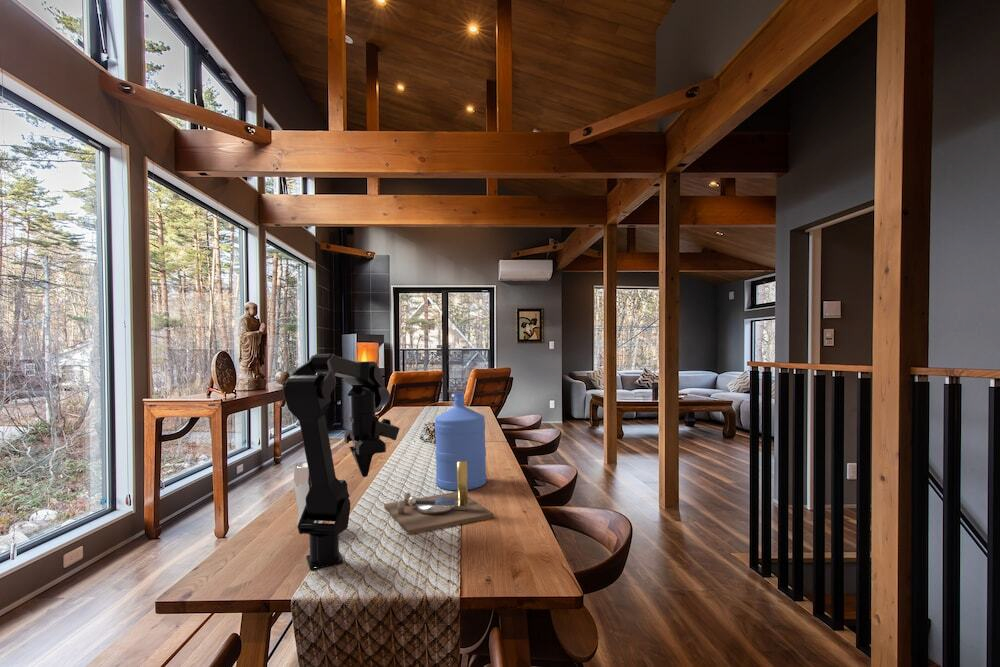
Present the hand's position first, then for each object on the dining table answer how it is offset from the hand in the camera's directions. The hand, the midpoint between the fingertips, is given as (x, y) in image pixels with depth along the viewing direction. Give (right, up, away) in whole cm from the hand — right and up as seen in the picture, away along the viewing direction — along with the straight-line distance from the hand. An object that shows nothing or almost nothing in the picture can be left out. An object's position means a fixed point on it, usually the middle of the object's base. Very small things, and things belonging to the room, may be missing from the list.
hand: (364, 476), depth 127 cm
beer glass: (-14, -13, +2) cm, 19 cm away
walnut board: (+17, -12, +8) cm, 22 cm away
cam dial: (+17, -10, +8) cm, 21 cm away
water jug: (+21, -12, +34) cm, 42 cm away
